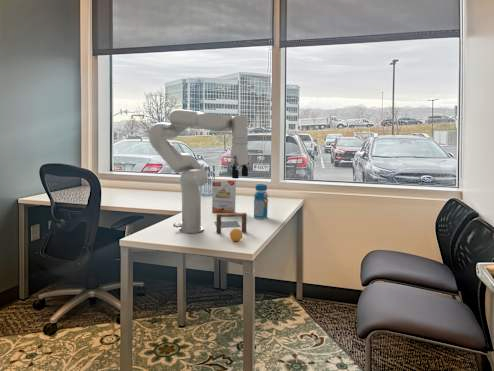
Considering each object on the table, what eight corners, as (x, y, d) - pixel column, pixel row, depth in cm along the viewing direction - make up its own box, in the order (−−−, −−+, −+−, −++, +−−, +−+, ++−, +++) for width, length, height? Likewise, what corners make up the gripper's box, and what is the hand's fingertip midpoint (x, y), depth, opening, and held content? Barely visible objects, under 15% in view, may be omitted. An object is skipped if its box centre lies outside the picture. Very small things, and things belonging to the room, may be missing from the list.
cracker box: (211, 212, 244) (212, 179, 241) (214, 210, 250) (214, 178, 247) (233, 213, 242) (234, 180, 239) (235, 211, 248) (235, 179, 245)
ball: (230, 243, 179) (230, 230, 178) (228, 239, 185) (229, 227, 184) (243, 242, 180) (243, 230, 179) (241, 239, 186) (241, 226, 185)
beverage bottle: (255, 219, 227) (255, 185, 225) (252, 216, 236) (252, 183, 233) (269, 219, 229) (270, 185, 226) (265, 216, 237) (266, 183, 234)
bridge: (217, 233, 195) (217, 214, 194) (216, 232, 198) (216, 213, 197) (246, 232, 198) (246, 214, 197) (245, 231, 201) (245, 212, 200)
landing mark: (216, 227, 207) (216, 227, 207) (214, 221, 220) (214, 221, 220) (240, 226, 210) (240, 226, 209) (236, 221, 222) (236, 221, 222)
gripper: (241, 141, 194) (241, 175, 197) (223, 142, 179) (224, 178, 181) (254, 141, 191) (255, 175, 193) (238, 142, 176) (238, 179, 178)
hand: (240, 177), depth 187 cm, fingers open, 9 cm apart
